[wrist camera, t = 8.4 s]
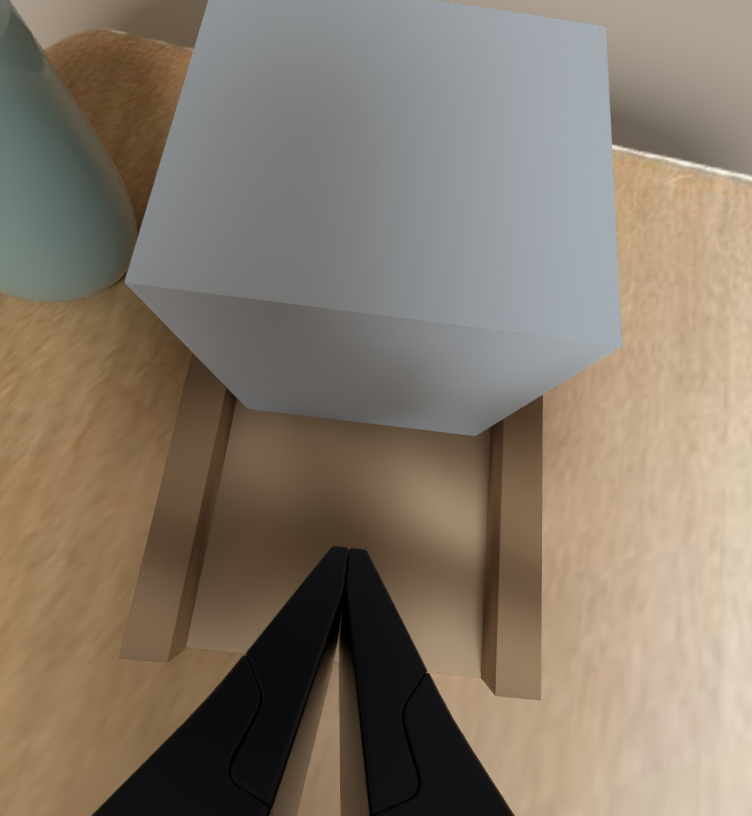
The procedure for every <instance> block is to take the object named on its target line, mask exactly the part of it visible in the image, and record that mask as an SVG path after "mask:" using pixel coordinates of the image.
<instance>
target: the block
mask: <svg viewBox="0 0 752 816" xmlns="http://www.w3.org/2000/svg"><path fill="white" fill-rule="evenodd" d="M124 283H125V284H126V285H127V286H128V287H129V288H130V289H131V290H132V291H133V292H134V293H135V294H136V295H137V296H138V297H139V298H140V299H141V300H142V301H143V302H144V303H145V304H146V305H147V306H148V307H149V308H150V309H151V310H152V311H153V312H154V313H155V314H156V316H157V317H158V318H159V319H160V320H161V321H162V322H163V323H164V324H165V325H166V326H167V327H168V328H169V329H170V330H171V331H172V332H173V333H174V334H175V335H176V336H177V337H178V338H179V339H180V340H181V341H182V342H183V343H184V344H185V345H186V346H187V347H188V348H189V349H190V350H191V351H192V352H193V353H194V354H195V355H196V357H197V358H198V359H199V360H200V361H201V362H202V363H203V364H204V365H205V366H206V367H207V368H208V369H209V370H210V371H211V372H212V373H213V374H214V375H215V376H216V377H217V378H218V379H219V380H220V381H221V382H222V383H223V384H224V385H225V386H226V387H227V388H228V389H229V390H230V391H231V392H232V393H233V394H234V395H235V397H236V398H237V399H238V400H239V401H240V402H241V403H242V404H243V405H244V406H245V407H246V408H247V409H252V410H260V411H269V412H277V413H286V414H294V415H303V416H311V417H319V418H328V419H336V420H345V421H353V422H362V423H370V424H379V425H387V426H395V427H404V428H412V429H421V430H429V431H438V432H446V433H454V434H463V435H471V436H476V435H478V434H480V433H481V432H483V431H484V430H486V429H488V428H489V427H491V426H493V425H494V424H496V423H498V422H499V421H501V420H502V419H504V418H506V417H507V416H509V415H511V414H512V413H514V412H515V411H517V410H519V409H520V408H522V407H524V406H525V405H527V404H528V403H530V402H532V401H533V400H535V399H537V398H538V397H540V396H542V395H543V394H545V393H546V392H548V391H550V390H551V389H553V388H555V387H556V386H558V385H559V384H561V383H563V382H564V381H566V380H568V379H569V378H571V377H572V376H574V375H576V374H577V373H579V372H581V371H582V370H584V369H586V368H587V367H589V366H590V365H592V364H594V363H595V362H597V361H599V360H600V359H602V358H603V357H605V356H607V355H608V354H610V353H612V352H613V351H615V350H616V349H618V348H620V347H621V346H622V334H621V314H620V295H619V275H618V256H617V236H616V216H615V197H614V177H613V158H612V139H611V119H610V100H609V80H608V60H607V41H606V26H600V25H593V24H587V23H581V22H574V21H568V20H561V19H555V18H548V17H542V16H535V15H529V14H522V13H515V12H509V11H503V10H496V9H490V8H483V7H477V6H470V5H464V4H458V3H451V2H445V1H438V0H209V1H208V4H207V7H206V11H205V14H204V17H203V21H202V24H201V27H200V31H199V34H198V38H197V41H196V45H195V47H194V51H193V54H192V58H191V61H190V64H189V68H188V71H187V74H186V78H185V81H184V84H183V88H182V91H181V94H180V98H179V101H178V104H177V108H176V111H175V114H174V118H173V121H172V124H171V128H170V131H169V135H168V138H167V141H166V145H165V148H164V151H163V155H162V158H161V161H160V165H159V168H158V171H157V175H156V178H155V181H154V185H153V188H152V191H151V195H150V198H149V202H148V205H147V208H146V212H145V215H144V218H143V222H142V225H141V228H140V232H139V235H138V238H137V242H136V245H135V248H134V252H133V255H132V258H131V262H130V265H129V268H128V272H127V275H126V279H125V282H124Z"/></svg>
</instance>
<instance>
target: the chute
mask: <svg viewBox="0 0 752 816" xmlns="http://www.w3.org/2000/svg"><path fill="white" fill-rule="evenodd" d="M542 414H543V395H542V396H540V397H538V398H537V399H535V400H533V401H532V402H530V403H528V404H527V405H525V406H524V407H522V408H520V409H519V410H517V411H515V412H514V413H512V414H511V415H509V416H507V417H506V418H504V419H502V420H501V421H499V422H498V423H496V424H494V425H493V426H491V427H489V428H488V429H486V430H484V431H483V432H481V433H480V434H478V435H476V436H471V435H463V434H454V433H446V432H438V431H429V430H421V429H412V428H404V427H395V426H387V425H379V424H370V423H362V422H353V421H345V420H336V419H328V418H319V417H311V416H303V415H294V414H286V413H277V412H269V411H260V410H252V409H247V408H246V407H245V406H244V405H243V404H242V403H241V402H240V401H239V400H238V399H237V398H236V397H235V395H234V394H233V393H232V392H231V391H230V390H229V389H228V388H227V387H226V386H225V385H224V384H223V383H222V382H221V381H220V380H219V379H218V378H217V377H216V376H215V375H214V374H213V373H212V372H211V371H210V370H209V369H208V368H207V367H206V366H205V365H204V364H203V363H202V362H201V361H200V360H199V359H198V358H197V357H196V355H195V354H194V353H193V354H192V358H191V362H190V366H189V370H188V375H187V379H186V383H185V387H184V391H183V395H182V399H181V404H180V408H179V412H178V416H177V420H176V424H175V428H174V432H173V437H172V441H171V445H170V449H169V453H168V457H167V461H166V466H165V470H164V474H163V478H162V482H161V486H160V490H159V495H158V499H157V503H156V507H155V511H154V515H153V519H152V523H151V528H150V532H149V536H148V540H147V544H146V548H145V552H144V557H143V561H142V565H141V569H140V573H139V577H138V581H137V585H136V590H135V594H134V598H133V602H132V606H131V610H130V614H129V619H128V623H127V627H126V631H125V635H124V639H123V643H122V648H121V652H120V656H119V658H124V659H133V660H143V661H153V662H163V663H168V662H169V661H170V660H171V659H173V658H174V657H175V656H176V655H178V654H179V653H180V652H181V651H182V650H184V649H185V648H193V649H203V650H213V651H223V652H233V653H243V654H246V652H247V650H248V649H249V648H250V647H251V646H252V644H253V643H254V642H255V641H256V639H257V638H258V637H259V636H260V634H261V633H262V632H263V631H264V629H265V628H266V627H267V626H268V624H269V623H270V622H271V621H272V619H273V618H274V617H275V616H276V615H277V613H278V612H279V611H280V610H281V608H282V607H283V606H284V605H285V603H286V602H287V601H288V600H289V598H290V597H291V596H292V595H293V593H294V592H295V591H296V590H297V588H298V587H299V586H300V585H301V583H302V582H303V581H304V580H305V579H306V577H307V576H308V575H309V574H310V572H311V571H312V570H313V569H314V567H315V566H316V565H317V564H318V562H319V561H320V560H321V559H322V557H323V556H324V555H325V554H326V552H327V551H328V550H329V549H330V548H331V547H332V546H342V547H347V548H348V549H349V550H350V548H361V549H366V550H367V551H368V553H369V555H370V557H371V559H372V561H373V563H374V565H375V567H376V569H377V571H378V573H379V575H380V577H381V579H382V581H383V583H384V585H385V587H386V589H387V591H388V593H389V595H390V597H391V599H392V601H393V603H394V605H395V607H396V609H397V611H398V613H399V615H400V617H401V619H402V621H403V623H404V625H405V627H406V629H407V631H408V633H409V635H410V637H411V639H412V640H413V642H414V644H415V646H416V648H417V650H418V652H419V654H420V656H421V658H422V660H423V662H424V664H425V666H426V668H427V672H429V673H439V674H449V675H459V676H469V677H479V678H482V680H483V681H484V682H485V683H486V685H487V686H488V687H489V688H490V690H491V691H492V692H493V693H494V695H495V696H502V697H512V698H522V699H532V700H541V588H542ZM348 556H349V554H348ZM341 616H342V615H341ZM340 625H341V624H340ZM339 635H340V632H339ZM333 663H339V639H338V644H337V649H336V654H335V658H334V662H333Z"/></svg>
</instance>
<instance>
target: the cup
mask: <svg viewBox="0 0 752 816" xmlns="http://www.w3.org/2000/svg"><path fill="white" fill-rule="evenodd" d="M137 234H138V229H137V222H136V217H135V212H134V208H133V205H132V202H131V200H130V197H129V195H128V192H127V189H126V187H125V184H124V182H123V180H122V178H121V176H120V173H119V171H118V169H117V167H116V165H115V164H114V162H113V160H112V158H111V156H110V155H109V153H108V151H107V149H106V148H105V146H104V144H103V143H102V141H101V139H100V138H99V136H98V134H97V133H96V131H95V129H94V128H93V126H92V124H91V123H90V121H89V120H88V118H87V117H86V115H85V113H84V112H83V110H82V109H81V107H80V106H79V104H78V102H77V101H76V99H75V98H74V96H73V95H72V93H71V92H70V90H69V89H68V87H67V86H66V84H65V82H64V81H63V79H62V78H61V76H60V75H59V73H58V72H57V70H56V69H55V67H54V66H53V64H52V63H51V61H50V60H49V58H48V57H47V55H46V54H45V52H44V51H43V49H42V47H41V46H40V44H39V43H38V41H37V40H36V38H35V37H34V36H33V34H32V32H31V31H30V30H29V28H28V27H27V25H26V23H25V22H24V20H23V19H22V17H21V16H20V14H19V13H18V12H17V10H16V9H15V7H14V5H13V4H12V3H11V1H10V0H0V294H3V295H6V296H9V297H12V298H15V299H20V300H24V301H30V302H39V303H63V302H70V301H75V300H80V299H83V298H86V297H89V296H92V295H95V294H97V293H99V292H101V291H103V290H105V289H107V288H109V287H110V286H112V285H113V284H114V283H116V282H117V281H118V280H119V279H120V278H121V277H122V276H123V275H124V274H125V273H126V272H127V270H128V268H129V265H130V262H131V258H132V255H133V252H134V248H135V245H136V242H137Z"/></svg>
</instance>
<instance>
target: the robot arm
mask: <svg viewBox="0 0 752 816" xmlns="http://www.w3.org/2000/svg"><path fill="white" fill-rule="evenodd" d="M348 554H349V556H348ZM341 615H342V616H341ZM340 624H341V625H340ZM339 632H340V635H339ZM338 639H339V712H340V796H341V816H515V815H514V814H513V812H512V811H511V809H510V808H509V806H508V804H507V803H506V801H505V800H504V798H503V797H502V795H501V794H500V792H499V790H498V789H497V787H496V786H495V784H494V783H493V781H492V780H491V778H490V776H489V775H488V773H487V772H486V770H485V769H484V767H483V766H482V764H481V762H480V761H479V759H478V758H477V756H476V755H475V753H474V752H473V750H472V748H471V747H470V745H469V743H468V742H467V740H466V739H465V737H464V735H463V734H462V732H461V730H460V729H459V727H458V725H457V724H456V722H455V721H454V719H453V717H452V715H451V713H450V712H449V710H448V708H447V706H446V704H445V702H444V701H443V699H442V697H441V695H440V693H439V691H438V689H437V687H436V685H435V683H434V681H433V679H432V677H431V675H430V674H429V673H427V668H426V666H425V664H424V662H423V660H422V658H421V656H420V654H419V652H418V650H417V648H416V646H415V644H414V642H413V640H412V639H411V637H410V635H409V633H408V631H407V629H406V627H405V625H404V623H403V621H402V619H401V617H400V615H399V613H398V611H397V609H396V607H395V605H394V603H393V601H392V599H391V597H390V595H389V593H388V591H387V589H386V587H385V585H384V583H383V581H382V579H381V577H380V575H379V573H378V571H377V569H376V567H375V565H374V563H373V561H372V559H371V557H370V555H369V553H368V551H367V550H366V549H361V548H350V550H349V549H348V548H347V547H342V546H332V547H331V548H330V549H329V550H328V551H327V552H326V554H325V555H324V556H323V557H322V559H321V560H320V561H319V562H318V564H317V565H316V566H315V567H314V569H313V570H312V571H311V572H310V574H309V575H308V576H307V577H306V579H305V580H304V581H303V582H302V583H301V585H300V586H299V587H298V588H297V590H296V591H295V592H294V593H293V595H292V596H291V597H290V598H289V600H288V601H287V602H286V603H285V605H284V606H283V607H282V608H281V610H280V611H279V612H278V613H277V615H276V616H275V617H274V618H273V619H272V621H271V622H270V623H269V624H268V626H267V627H266V628H265V629H264V631H263V632H262V633H261V634H260V636H259V637H258V638H257V639H256V641H255V642H254V643H253V644H252V646H251V647H250V648H249V649H248V650H247V652H246V655H243V656H242V657H241V658H240V660H239V661H238V662H237V663H236V665H235V666H234V667H233V668H232V670H231V671H230V672H229V673H228V674H227V676H226V677H225V678H224V679H223V680H222V681H221V683H220V684H219V685H218V686H217V687H216V688H215V690H214V691H213V692H212V693H211V694H210V695H209V696H208V698H207V699H206V700H205V701H204V702H203V703H202V704H201V705H200V706H199V707H198V708H197V709H196V710H195V711H194V712H193V713H192V714H191V715H190V716H189V718H188V719H187V720H186V721H185V722H184V723H183V724H182V725H181V726H180V727H179V728H178V729H177V730H176V731H175V732H174V733H173V734H172V735H171V736H170V737H169V738H168V739H167V740H166V741H165V742H164V743H163V744H162V745H161V746H160V747H159V748H158V749H157V750H156V751H155V752H154V753H153V754H152V755H151V756H150V757H149V758H148V759H147V760H146V761H145V762H144V763H143V764H142V765H141V766H140V767H139V768H138V769H137V770H136V771H135V772H134V773H133V774H132V775H131V776H130V777H129V778H128V779H127V780H126V781H125V782H124V783H123V784H122V785H121V786H120V787H119V788H118V789H117V790H116V791H115V792H114V793H113V794H112V795H111V796H110V797H109V798H108V799H107V800H106V801H105V802H104V803H103V804H102V805H101V806H100V807H99V808H98V809H97V810H96V811H95V812H94V813H93V814H92V815H91V816H297V811H298V807H299V803H300V799H301V795H302V791H303V787H304V782H305V778H306V774H307V770H308V766H309V762H310V757H311V753H312V749H313V745H314V741H315V737H316V733H317V728H318V724H319V720H320V716H321V712H322V708H323V703H324V699H325V695H326V691H327V687H328V683H329V679H330V674H331V670H332V666H333V662H334V658H335V654H336V649H337V644H338Z"/></svg>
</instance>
